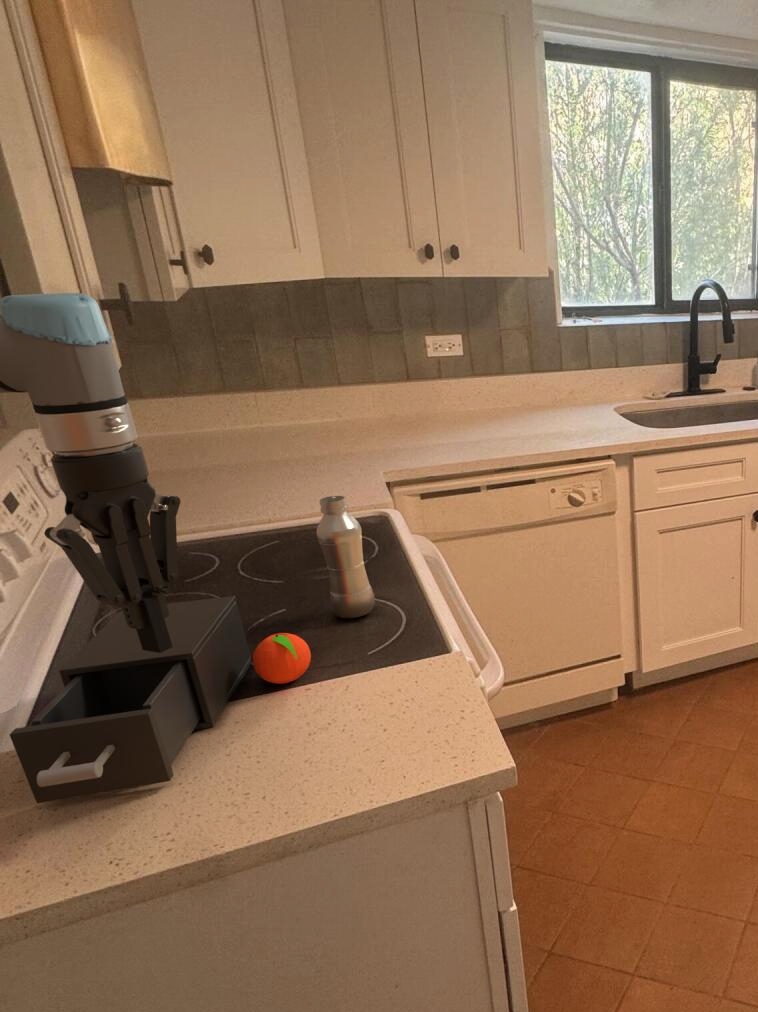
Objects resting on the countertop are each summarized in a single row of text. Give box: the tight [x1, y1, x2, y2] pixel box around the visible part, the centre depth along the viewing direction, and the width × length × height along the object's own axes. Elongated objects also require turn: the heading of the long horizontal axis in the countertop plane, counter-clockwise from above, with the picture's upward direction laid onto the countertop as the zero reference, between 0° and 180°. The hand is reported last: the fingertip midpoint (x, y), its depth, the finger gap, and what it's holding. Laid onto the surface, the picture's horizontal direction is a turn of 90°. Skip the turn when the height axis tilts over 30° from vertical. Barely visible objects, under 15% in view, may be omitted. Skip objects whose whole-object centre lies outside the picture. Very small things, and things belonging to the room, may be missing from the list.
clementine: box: [252, 632, 312, 685], centre depth 108 cm, size 8×7×7 cm
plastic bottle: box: [315, 495, 376, 619], centre depth 126 cm, size 6×7×20 cm
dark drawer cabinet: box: [58, 595, 253, 731], centre depth 103 cm, size 18×14×11 cm
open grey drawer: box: [9, 659, 203, 804], centre depth 89 cm, size 22×12×9 cm, turn 17°
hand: (157, 648), depth 90 cm, fingers closed
